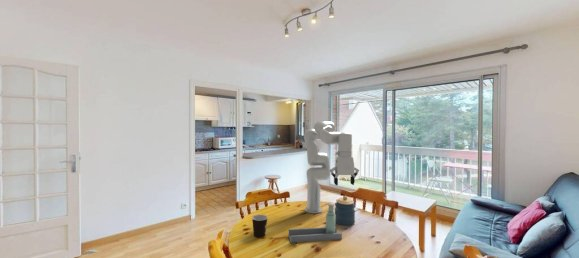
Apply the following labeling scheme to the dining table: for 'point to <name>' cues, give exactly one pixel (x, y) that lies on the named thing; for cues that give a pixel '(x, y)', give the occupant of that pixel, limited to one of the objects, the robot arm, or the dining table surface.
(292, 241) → the u rest
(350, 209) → the canister
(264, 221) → the coffee mug
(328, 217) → the bottle
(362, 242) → the dining table surface
